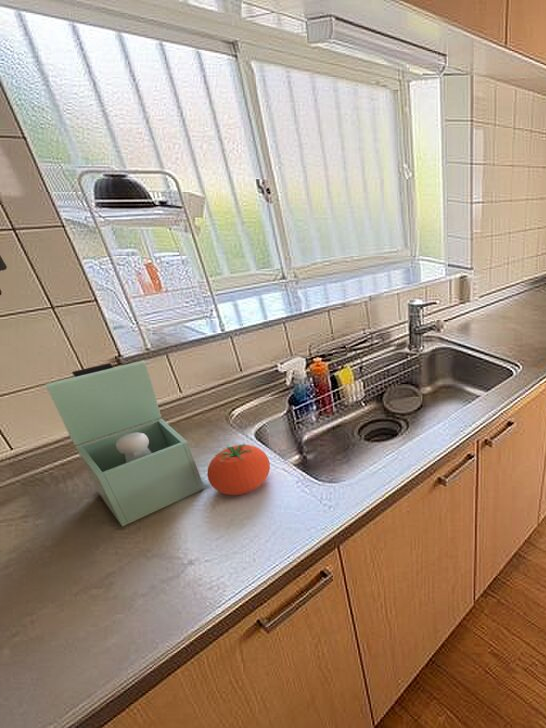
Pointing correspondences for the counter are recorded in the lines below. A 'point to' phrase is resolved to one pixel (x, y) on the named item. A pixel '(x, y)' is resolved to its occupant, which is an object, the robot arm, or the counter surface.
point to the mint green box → (142, 472)
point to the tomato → (238, 469)
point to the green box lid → (104, 400)
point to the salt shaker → (133, 446)
